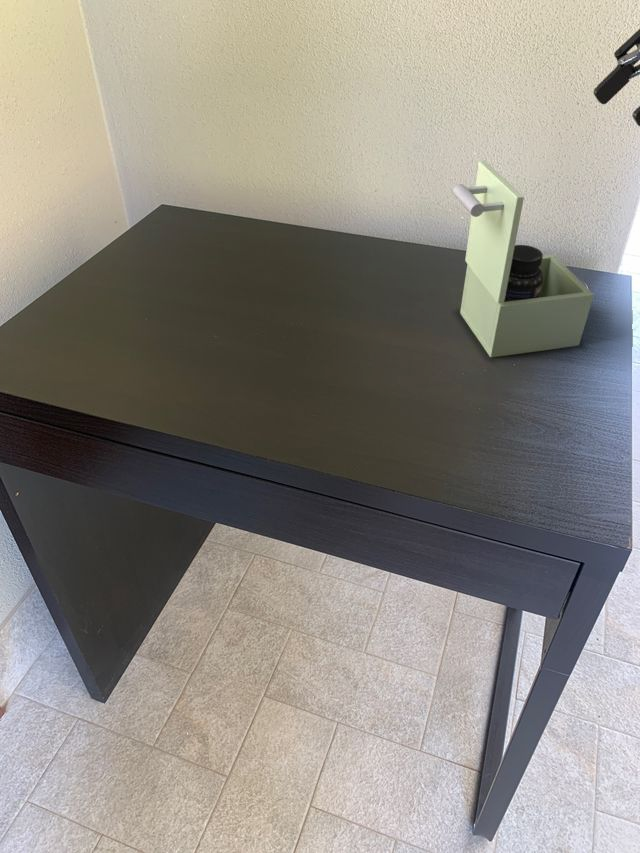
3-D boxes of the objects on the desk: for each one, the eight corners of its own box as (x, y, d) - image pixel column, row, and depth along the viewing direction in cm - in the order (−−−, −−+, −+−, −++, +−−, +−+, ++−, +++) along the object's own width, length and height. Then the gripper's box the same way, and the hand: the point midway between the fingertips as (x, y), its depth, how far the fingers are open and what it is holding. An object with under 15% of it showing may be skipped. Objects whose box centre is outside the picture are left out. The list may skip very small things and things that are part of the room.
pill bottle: (534, 339, 92) (552, 265, 85) (489, 337, 93) (503, 263, 85) (528, 314, 97) (544, 242, 90) (484, 312, 97) (497, 241, 90)
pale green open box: (541, 302, 101) (553, 254, 96) (579, 345, 93) (594, 294, 87) (460, 313, 99) (467, 263, 94) (490, 357, 91) (500, 306, 85)
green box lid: (485, 160, 85) (447, 164, 84) (524, 196, 76) (482, 201, 76) (470, 260, 94) (436, 264, 93) (504, 302, 85) (466, 307, 85)
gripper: (691, -51, 75) (570, 69, 81) (782, -32, 65) (636, 106, 70) (716, 2, 79) (599, 113, 85) (805, 29, 69) (666, 153, 75)
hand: (616, 110), depth 78 cm, fingers open, 8 cm apart
